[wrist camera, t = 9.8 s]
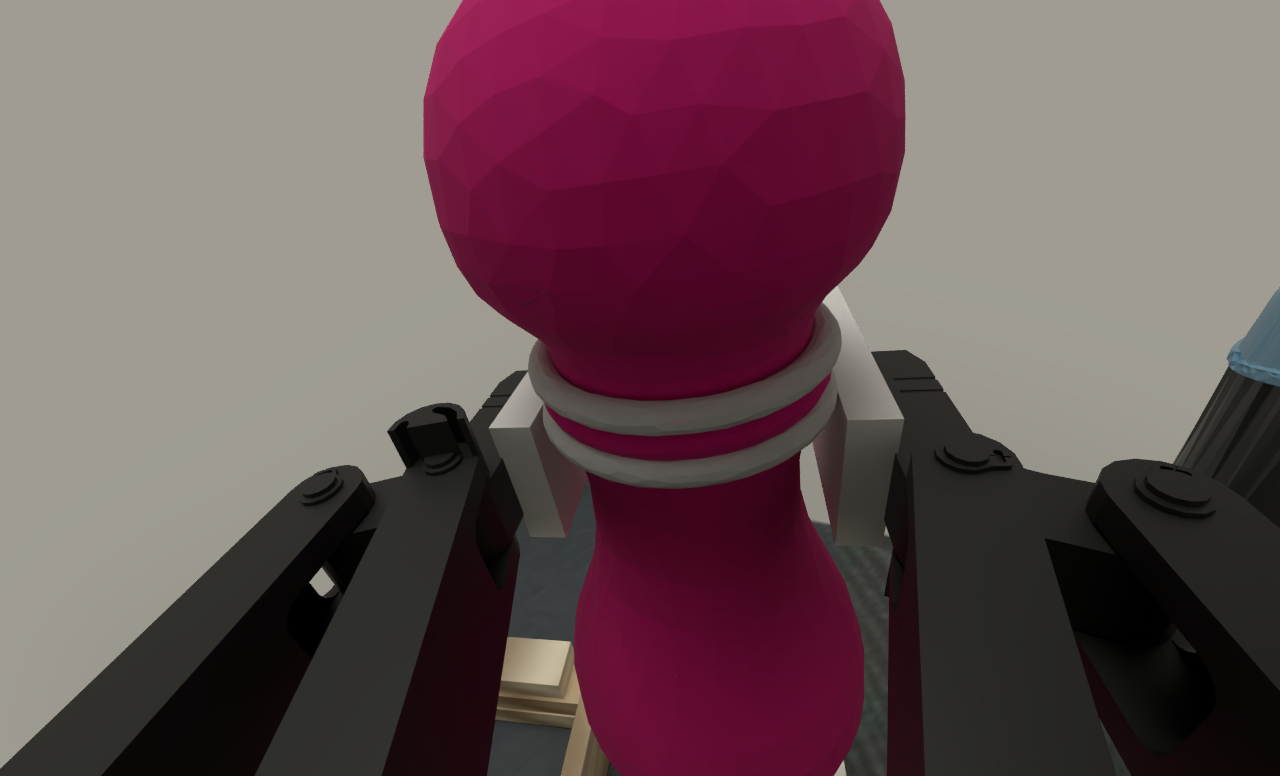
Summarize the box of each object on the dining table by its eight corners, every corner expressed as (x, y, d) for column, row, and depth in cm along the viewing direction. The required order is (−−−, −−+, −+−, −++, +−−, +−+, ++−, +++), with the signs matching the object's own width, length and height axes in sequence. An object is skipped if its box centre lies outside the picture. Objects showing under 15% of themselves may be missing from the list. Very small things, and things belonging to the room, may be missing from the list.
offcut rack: (623, 681, 32) (609, 638, 29) (580, 926, 23) (555, 895, 20) (472, 667, 34) (447, 626, 31) (378, 885, 25) (332, 852, 22)
